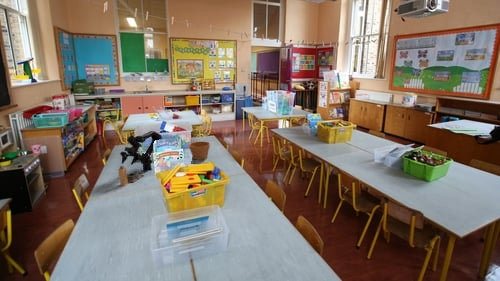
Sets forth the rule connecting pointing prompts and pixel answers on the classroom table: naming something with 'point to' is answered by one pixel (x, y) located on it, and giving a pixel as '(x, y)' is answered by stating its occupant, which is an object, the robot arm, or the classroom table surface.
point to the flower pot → (199, 150)
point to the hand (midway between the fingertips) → (126, 164)
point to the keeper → (133, 177)
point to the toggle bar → (123, 176)
